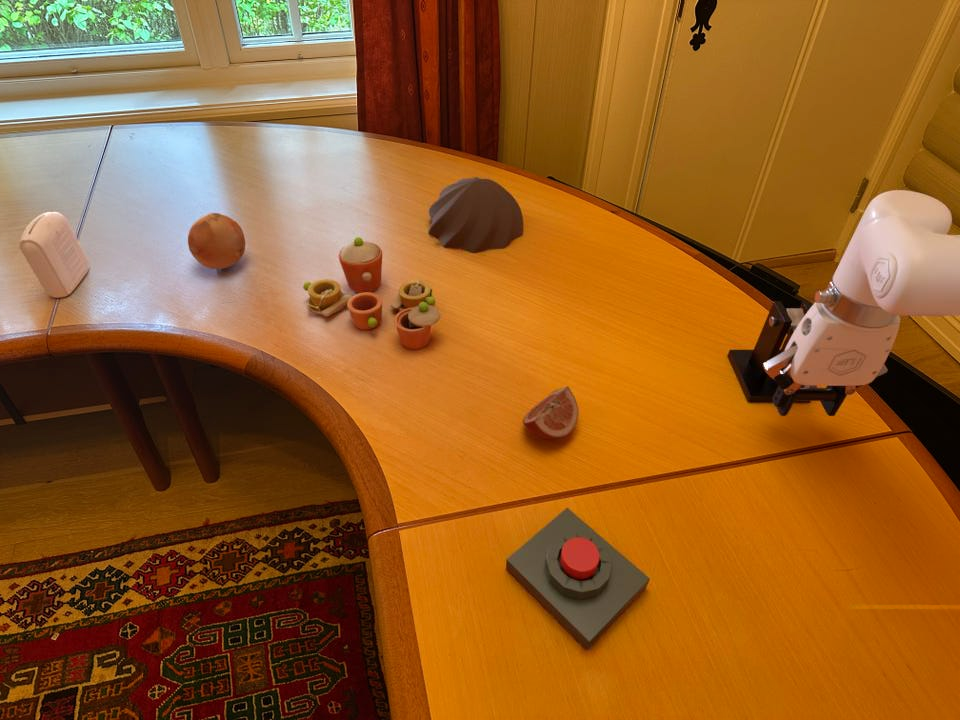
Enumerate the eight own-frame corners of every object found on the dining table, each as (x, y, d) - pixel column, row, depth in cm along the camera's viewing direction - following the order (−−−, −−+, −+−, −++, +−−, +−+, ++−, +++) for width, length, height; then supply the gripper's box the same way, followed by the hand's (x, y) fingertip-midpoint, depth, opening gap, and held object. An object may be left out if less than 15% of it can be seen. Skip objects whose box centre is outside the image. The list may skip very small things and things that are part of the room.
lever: (831, 404, 79) (840, 396, 77) (789, 403, 79) (797, 396, 77) (806, 317, 85) (814, 308, 83) (767, 317, 85) (774, 308, 83)
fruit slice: (547, 399, 87) (549, 375, 84) (586, 422, 84) (591, 397, 81) (512, 434, 83) (513, 409, 79) (553, 459, 80) (556, 434, 76)
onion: (210, 248, 117) (193, 201, 110) (259, 251, 116) (246, 204, 109) (187, 277, 110) (167, 228, 103) (240, 280, 109) (224, 232, 102)
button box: (646, 588, 67) (653, 570, 64) (586, 650, 62) (591, 634, 59) (565, 517, 73) (568, 498, 70) (505, 569, 68) (506, 550, 66)
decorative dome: (505, 261, 114) (506, 213, 107) (410, 239, 119) (406, 193, 112) (536, 213, 127) (540, 168, 120) (450, 196, 132) (449, 151, 125)
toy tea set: (293, 308, 103) (281, 261, 96) (353, 265, 113) (345, 218, 106) (418, 364, 93) (414, 314, 86) (472, 310, 103) (471, 262, 96)
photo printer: (71, 265, 112) (37, 205, 104) (94, 265, 112) (63, 204, 104) (45, 299, 105) (7, 237, 96) (70, 298, 105) (35, 236, 96)
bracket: (810, 402, 87) (847, 335, 78) (747, 402, 87) (777, 335, 78) (784, 355, 94) (815, 289, 86) (727, 355, 94) (752, 289, 86)
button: (605, 563, 65) (607, 555, 64) (580, 587, 63) (582, 579, 62) (577, 538, 67) (578, 530, 66) (552, 560, 65) (553, 552, 64)
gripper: (798, 321, 66) (747, 429, 78) (956, 322, 66) (880, 430, 78) (774, 280, 71) (730, 387, 84) (920, 281, 71) (854, 388, 84)
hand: (803, 407), depth 81 cm, fingers closed on lever, 5 cm apart
